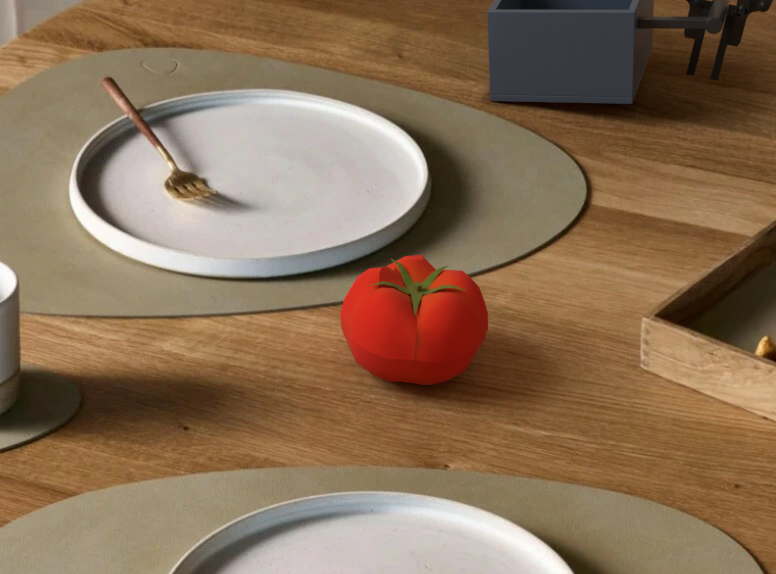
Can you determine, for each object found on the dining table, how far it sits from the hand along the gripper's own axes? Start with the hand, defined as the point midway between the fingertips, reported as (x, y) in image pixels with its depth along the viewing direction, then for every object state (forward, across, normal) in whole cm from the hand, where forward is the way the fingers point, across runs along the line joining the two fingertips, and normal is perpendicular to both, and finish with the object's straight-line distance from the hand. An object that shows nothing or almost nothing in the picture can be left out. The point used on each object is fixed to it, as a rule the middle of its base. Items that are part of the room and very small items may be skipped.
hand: (703, 71), depth 149 cm
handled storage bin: (+2, -9, 0) cm, 9 cm away
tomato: (+4, -16, -54) cm, 56 cm away
